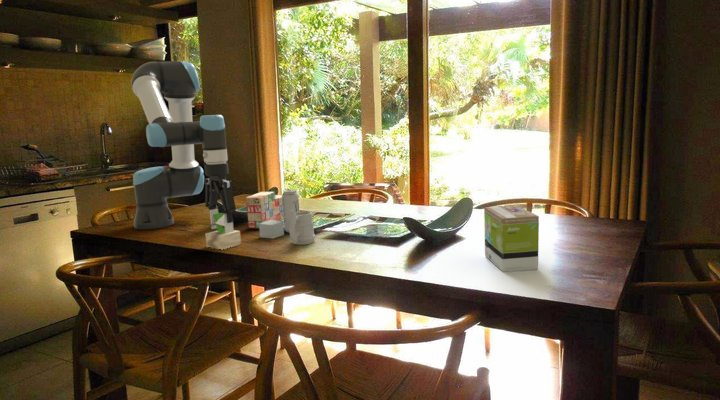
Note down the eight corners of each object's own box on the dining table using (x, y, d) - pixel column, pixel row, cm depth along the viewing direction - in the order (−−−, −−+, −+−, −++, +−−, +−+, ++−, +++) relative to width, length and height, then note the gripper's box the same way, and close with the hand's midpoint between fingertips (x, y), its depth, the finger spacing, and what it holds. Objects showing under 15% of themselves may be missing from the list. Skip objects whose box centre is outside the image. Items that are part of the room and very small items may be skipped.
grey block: (260, 237, 183) (259, 223, 182) (271, 233, 188) (270, 220, 187) (273, 238, 180) (272, 224, 179) (284, 234, 185) (283, 221, 184)
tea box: (483, 256, 148) (483, 206, 146) (517, 254, 149) (517, 204, 147) (501, 273, 134) (502, 217, 131) (539, 270, 134) (540, 214, 132)
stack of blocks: (273, 216, 218) (271, 187, 216) (287, 216, 216) (285, 187, 214) (248, 228, 198) (245, 196, 196) (262, 228, 196) (260, 197, 194)
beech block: (206, 248, 173) (205, 233, 172) (225, 242, 179) (224, 228, 178) (222, 251, 168) (221, 236, 167) (241, 245, 175) (240, 230, 174)
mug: (319, 239, 176) (317, 205, 174) (302, 248, 165) (299, 212, 163) (300, 238, 179) (297, 204, 177) (281, 247, 168) (279, 211, 166)
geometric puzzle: (205, 225, 174) (210, 208, 169) (223, 221, 179) (228, 205, 174) (214, 240, 171) (219, 223, 166) (233, 236, 175) (238, 220, 171)
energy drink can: (296, 233, 187) (293, 192, 184) (281, 232, 188) (278, 192, 186) (303, 229, 192) (300, 189, 189) (288, 228, 194) (286, 189, 191)
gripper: (190, 162, 174) (197, 227, 178) (221, 165, 158) (228, 237, 162) (210, 160, 179) (216, 223, 183) (243, 163, 163) (249, 232, 168)
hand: (222, 230), depth 173 cm, fingers open, 9 cm apart
